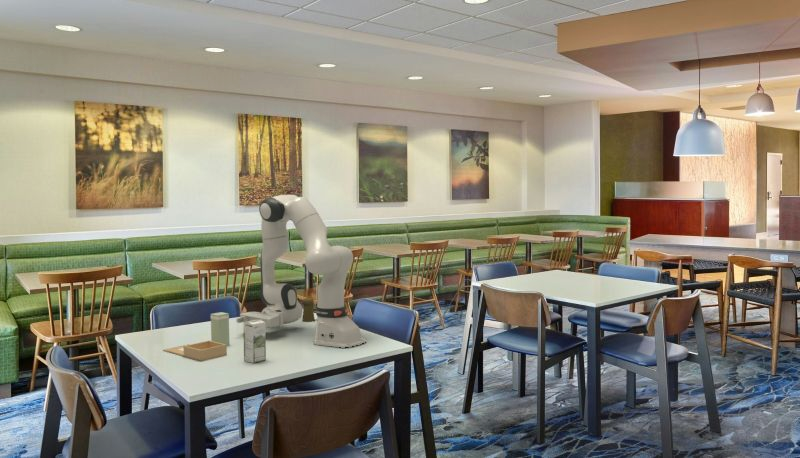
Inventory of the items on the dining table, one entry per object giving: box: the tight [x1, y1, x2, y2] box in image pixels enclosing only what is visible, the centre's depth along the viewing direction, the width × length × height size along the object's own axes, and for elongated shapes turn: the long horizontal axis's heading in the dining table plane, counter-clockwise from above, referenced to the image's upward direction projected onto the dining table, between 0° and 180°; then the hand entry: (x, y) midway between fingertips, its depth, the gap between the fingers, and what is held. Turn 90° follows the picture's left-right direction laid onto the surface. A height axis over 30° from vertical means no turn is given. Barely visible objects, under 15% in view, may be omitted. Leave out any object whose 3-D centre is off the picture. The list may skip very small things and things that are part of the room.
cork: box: [301, 297, 315, 323], centre depth 297 cm, size 6×6×11 cm
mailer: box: [162, 340, 228, 362], centre depth 238 cm, size 26×11×4 cm, turn 51°
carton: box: [210, 311, 230, 347], centre depth 249 cm, size 5×5×13 cm
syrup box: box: [243, 320, 267, 364], centre depth 225 cm, size 6×6×14 cm
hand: (244, 322), depth 258 cm, fingers open, 8 cm apart
